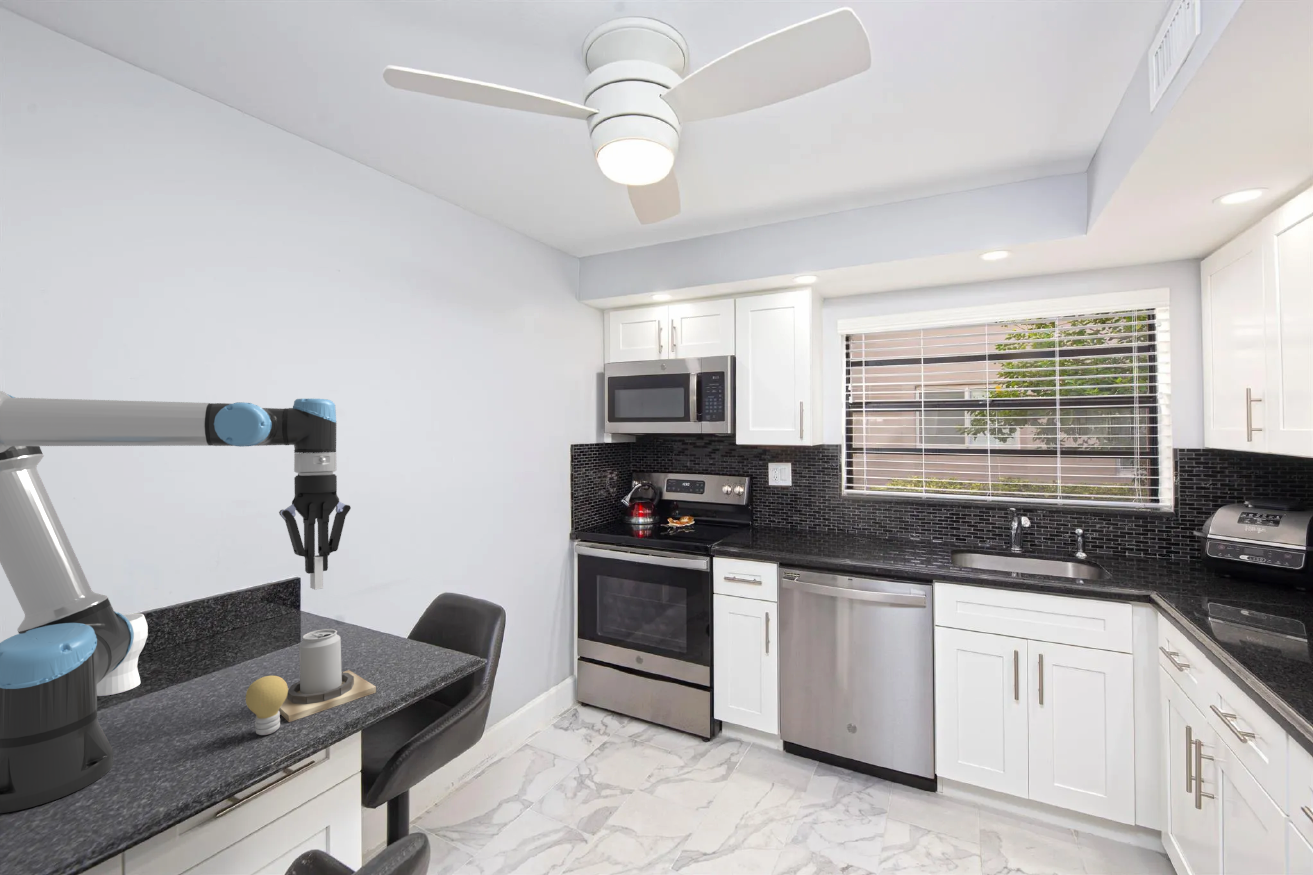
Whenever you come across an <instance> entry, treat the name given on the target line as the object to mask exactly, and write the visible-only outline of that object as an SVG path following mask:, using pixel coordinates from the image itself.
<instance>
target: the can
mask: <svg viewBox="0 0 1313 875" xmlns="http://www.w3.org/2000/svg"><path fill="white" fill-rule="evenodd" d="M337 633H338V630H336V629H333V628H324V629H318V630H313V631H310V632H307V633H305V634H303V635H302V637H301V638H302V640H301V642H300V643H299V644H298V646H299V647H298V652H299V653H298V656H299V661H298V662H299V681H300V693H302V694H314V693H321V692H325V691H328V690H332V689H335V688H337V687H339V686H340V685H341V684H342V672H343V671H342V641H341V640H342V638H341V636H340V635H339V634H337Z"/></svg>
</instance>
